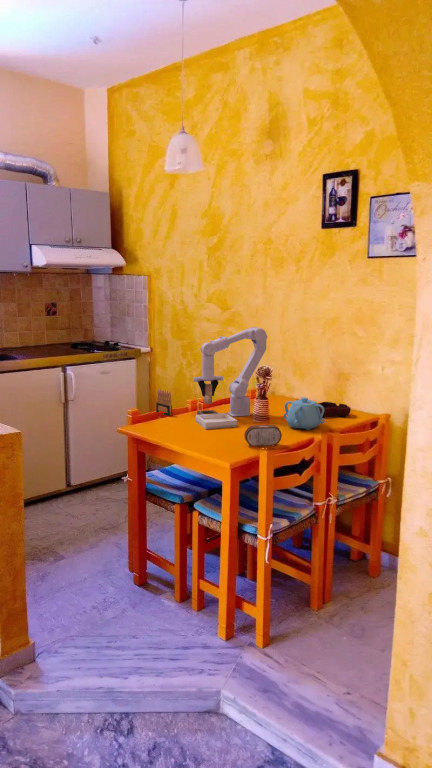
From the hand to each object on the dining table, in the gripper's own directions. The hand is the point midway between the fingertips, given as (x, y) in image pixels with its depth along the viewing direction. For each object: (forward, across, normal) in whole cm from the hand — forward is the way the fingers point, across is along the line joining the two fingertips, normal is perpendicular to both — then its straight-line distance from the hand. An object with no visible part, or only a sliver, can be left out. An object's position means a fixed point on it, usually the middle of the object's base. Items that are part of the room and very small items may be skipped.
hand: (208, 395), depth 282 cm
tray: (+10, +1, +15) cm, 18 cm away
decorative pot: (+10, -35, +32) cm, 48 cm away
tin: (+10, -6, +53) cm, 54 cm away
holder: (+10, 0, 0) cm, 10 cm away
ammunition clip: (+10, +19, -11) cm, 24 cm away
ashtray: (+11, -59, +13) cm, 62 cm away
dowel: (+3, 0, 0) cm, 3 cm away
